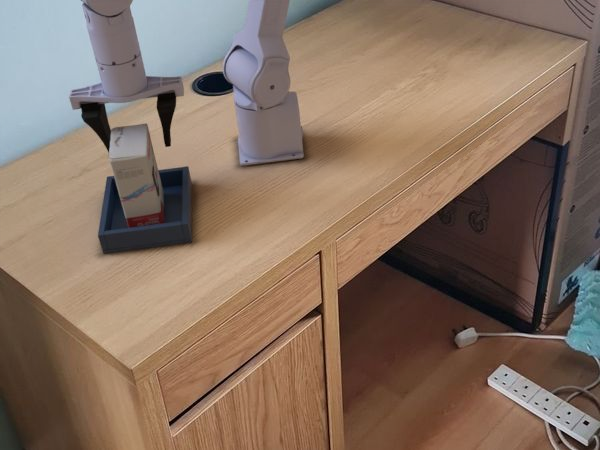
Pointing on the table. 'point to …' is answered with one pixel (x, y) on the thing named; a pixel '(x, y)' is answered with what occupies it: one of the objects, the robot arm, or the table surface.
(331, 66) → the table surface
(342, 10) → the table surface
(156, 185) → the ink box
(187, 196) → the dark blue tray
